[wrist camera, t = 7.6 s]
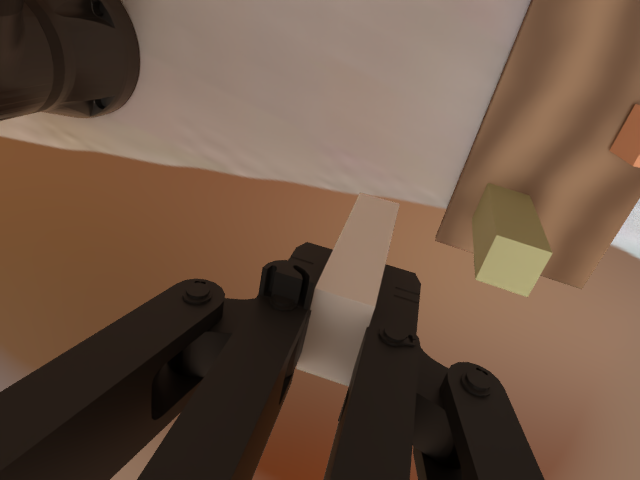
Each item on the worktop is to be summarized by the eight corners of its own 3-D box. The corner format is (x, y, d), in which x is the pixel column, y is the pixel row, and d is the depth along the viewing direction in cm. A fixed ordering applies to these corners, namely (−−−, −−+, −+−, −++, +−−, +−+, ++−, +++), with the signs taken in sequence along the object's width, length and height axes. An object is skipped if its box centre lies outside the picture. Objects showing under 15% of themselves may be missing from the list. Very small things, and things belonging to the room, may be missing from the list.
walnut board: (435, 236, 48) (435, 240, 47) (582, -126, 33) (586, -131, 32) (578, 283, 46) (581, 289, 45) (805, -80, 31) (817, -84, 30)
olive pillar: (471, 219, 45) (475, 279, 34) (487, 182, 43) (496, 235, 32) (511, 232, 44) (527, 297, 34) (530, 195, 42) (552, 252, 32)
